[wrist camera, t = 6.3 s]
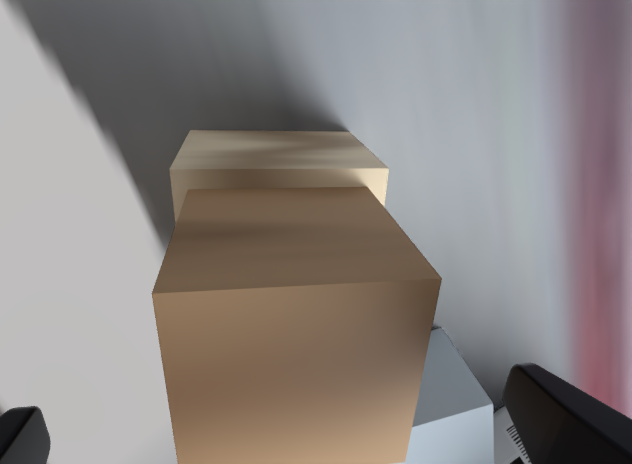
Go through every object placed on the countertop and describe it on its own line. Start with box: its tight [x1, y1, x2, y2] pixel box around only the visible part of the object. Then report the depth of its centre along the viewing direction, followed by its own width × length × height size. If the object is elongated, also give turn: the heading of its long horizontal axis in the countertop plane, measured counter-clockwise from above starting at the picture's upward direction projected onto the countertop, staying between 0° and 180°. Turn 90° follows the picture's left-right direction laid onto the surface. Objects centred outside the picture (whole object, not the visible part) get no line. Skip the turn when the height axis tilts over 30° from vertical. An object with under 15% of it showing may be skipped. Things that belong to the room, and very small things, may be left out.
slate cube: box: [394, 328, 494, 464], centre depth 20 cm, size 5×5×5 cm
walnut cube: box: [152, 187, 442, 464], centre depth 10 cm, size 5×5×5 cm
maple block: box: [169, 130, 389, 224], centre depth 15 cm, size 6×6×5 cm
